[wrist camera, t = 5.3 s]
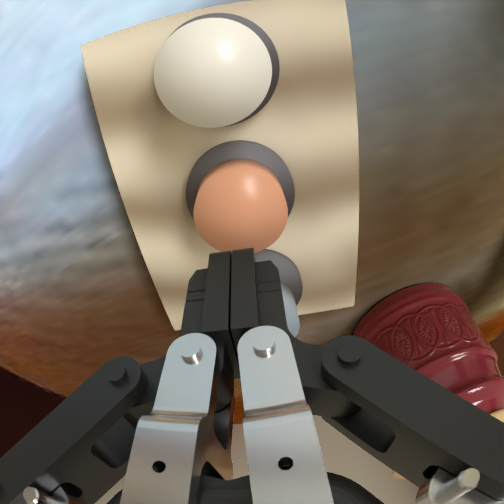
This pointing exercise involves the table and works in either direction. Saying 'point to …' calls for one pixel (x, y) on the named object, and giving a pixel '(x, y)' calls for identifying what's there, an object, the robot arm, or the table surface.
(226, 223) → the terracotta button
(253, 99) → the ivory button
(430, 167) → the table surface
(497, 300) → the table surface
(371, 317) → the canister
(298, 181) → the button panel
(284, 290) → the slate button
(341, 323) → the table surface
